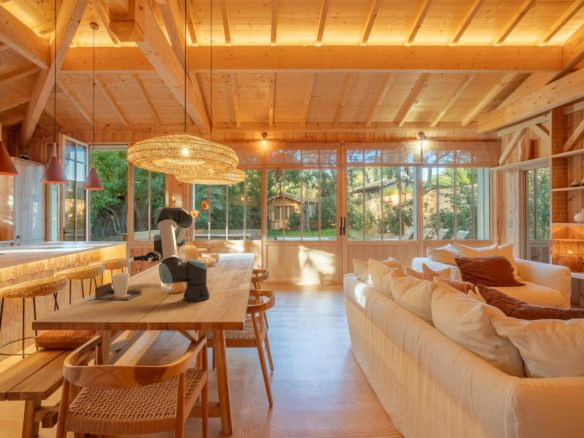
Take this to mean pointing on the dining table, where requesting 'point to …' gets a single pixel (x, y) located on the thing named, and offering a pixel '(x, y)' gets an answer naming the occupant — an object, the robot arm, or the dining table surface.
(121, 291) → the foam cup
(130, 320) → the dining table surface
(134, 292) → the wooden-edged grey tray
